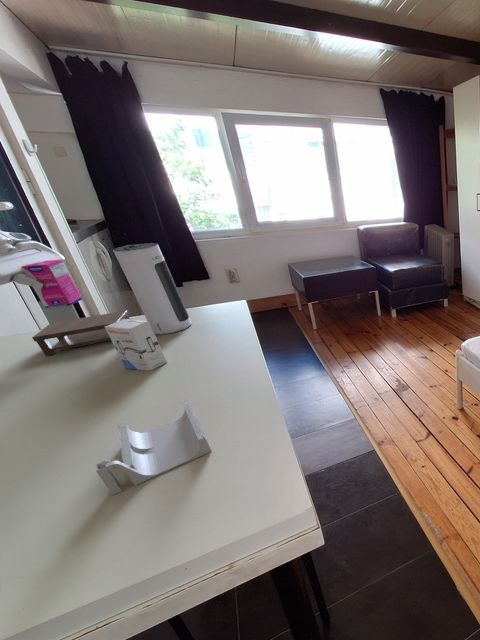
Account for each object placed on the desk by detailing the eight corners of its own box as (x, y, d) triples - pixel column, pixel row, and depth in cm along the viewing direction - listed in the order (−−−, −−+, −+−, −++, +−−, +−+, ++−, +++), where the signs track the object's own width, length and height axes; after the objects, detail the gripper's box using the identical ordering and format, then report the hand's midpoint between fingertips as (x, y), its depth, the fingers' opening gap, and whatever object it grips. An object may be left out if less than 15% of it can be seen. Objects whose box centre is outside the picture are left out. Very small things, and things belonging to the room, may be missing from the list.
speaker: (176, 334, 111) (137, 248, 99) (143, 335, 112) (100, 249, 100) (199, 321, 121) (166, 240, 109) (169, 322, 121) (133, 242, 109)
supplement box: (44, 308, 97) (18, 266, 92) (59, 301, 102) (35, 261, 97) (70, 305, 99) (46, 263, 93) (84, 299, 104) (61, 258, 98)
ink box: (124, 368, 93) (101, 326, 88) (143, 359, 97) (122, 318, 92) (150, 371, 91) (128, 328, 86) (169, 361, 95) (149, 320, 90)
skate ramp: (211, 451, 64) (200, 428, 61) (112, 495, 56) (95, 471, 53) (195, 415, 74) (184, 394, 71) (109, 448, 66) (94, 425, 63)
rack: (44, 357, 101) (31, 337, 98) (61, 341, 111) (50, 323, 108) (126, 341, 108) (116, 322, 106) (135, 327, 118) (126, 310, 115)
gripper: (-51, 247, 82) (24, 285, 88) (30, 232, 100) (88, 264, 106) (-60, 268, 84) (14, 304, 89) (22, 250, 102) (79, 281, 107)
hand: (55, 282), depth 98 cm, fingers closed on supplement box, 6 cm apart
